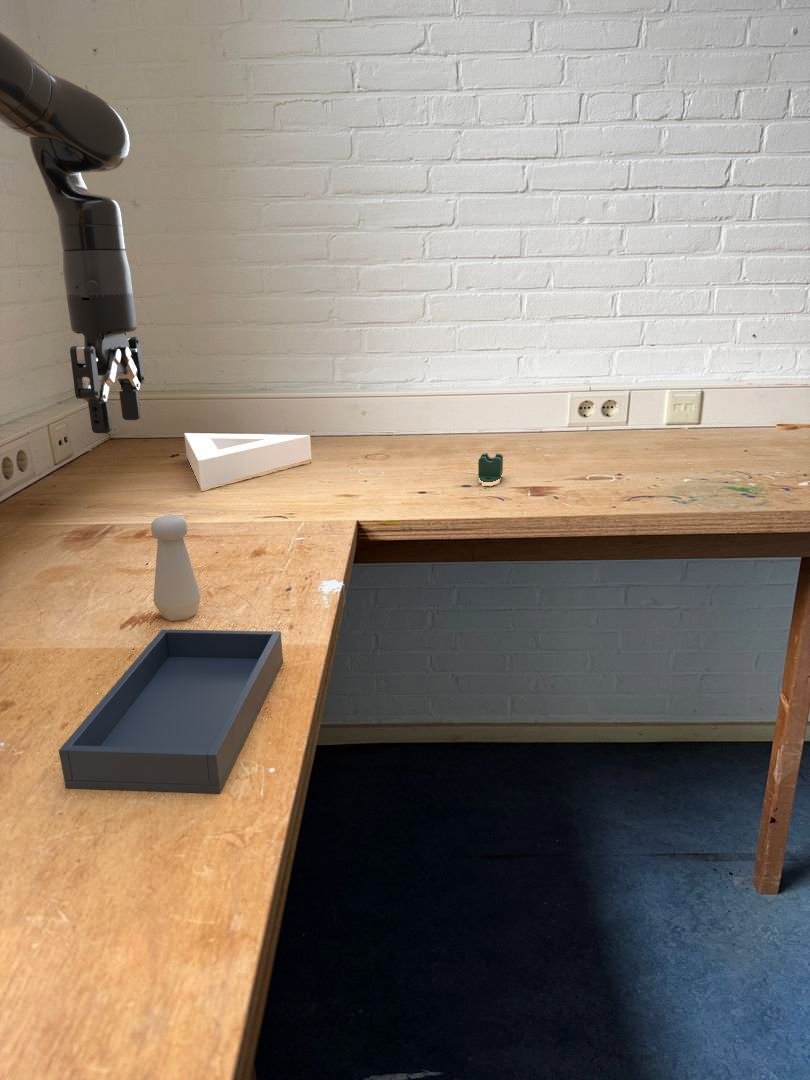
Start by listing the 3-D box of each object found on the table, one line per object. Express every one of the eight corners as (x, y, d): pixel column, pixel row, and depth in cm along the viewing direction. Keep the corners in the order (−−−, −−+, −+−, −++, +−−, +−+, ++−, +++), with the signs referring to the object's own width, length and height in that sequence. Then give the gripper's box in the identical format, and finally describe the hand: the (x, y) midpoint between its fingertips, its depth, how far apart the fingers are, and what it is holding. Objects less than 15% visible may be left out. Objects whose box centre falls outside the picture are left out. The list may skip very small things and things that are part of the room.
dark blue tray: (65, 788, 68) (58, 750, 67) (165, 659, 91) (161, 629, 89) (220, 793, 67) (215, 755, 66) (283, 661, 89) (280, 631, 88)
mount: (498, 487, 157) (498, 462, 156) (475, 486, 158) (476, 461, 157) (504, 473, 167) (504, 450, 166) (483, 472, 168) (483, 449, 167)
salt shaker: (171, 628, 98) (159, 528, 94) (147, 615, 102) (134, 518, 98) (211, 613, 102) (201, 516, 98) (186, 601, 106) (175, 508, 102)
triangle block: (311, 463, 180) (310, 435, 178) (273, 494, 156) (271, 462, 154) (187, 459, 185) (184, 433, 183) (131, 489, 161) (127, 459, 159)
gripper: (97, 290, 102) (114, 416, 107) (38, 293, 89) (60, 437, 94) (153, 289, 101) (168, 416, 107) (102, 292, 88) (122, 437, 93)
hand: (117, 426), depth 100 cm, fingers open, 8 cm apart
